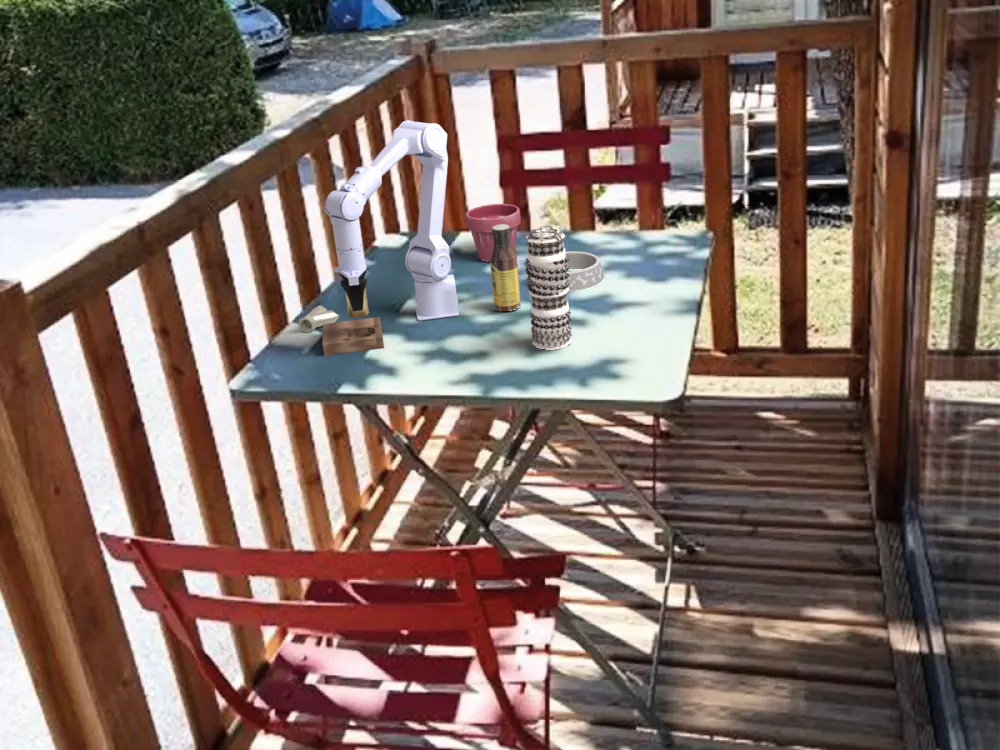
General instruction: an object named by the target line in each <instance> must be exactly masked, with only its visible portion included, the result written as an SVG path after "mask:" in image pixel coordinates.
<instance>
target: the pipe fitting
mask: <svg viewBox="0 0 1000 750" xmlns="http://www.w3.org/2000/svg"><path fill="white" fill-rule="evenodd" d="M339 318H340V317H339V314H337V313H336V312H334V310H333V309H331V310H328V309H327V308H326V307H324V306H322V304H321V305H317V306H315V307H314V308H312V309H311V311H310V312H308V314H307V315H305V316H303V317H302V318H300V319H299V320H298V325H299V329H300V330H301V331H303V332H304V333H311V332H312V331H314V330H315V329H318V328H321V326H323V324H328V323H335V322H337V321H338V319H339ZM317 327H318V328H317Z"/></svg>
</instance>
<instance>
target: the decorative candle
mask: <svg viewBox="0 0 1000 750" xmlns="http://www.w3.org/2000/svg"><path fill="white" fill-rule="evenodd" d="M564 238H566V234H564V233H563V232H561V231H560V229H559V228H557V227H555V226H539V227H536V228H533V229H532V230H531V231H530V233H529V234H528V235H527V236H526V237H525V240H526V241H527V254H526V255H527V257H526V258H525V262H524V265H525V267H526V268H525V272H526V275H527V278H526V281H527V290H528V294H529V295H530V296H531V304H530V305H531V306H530V307H531V313H530V314H529V315H530V316H529V317H530V318H531V320H530V324H531V329H530V331H531V339H532V345H533V344H534V345H535V346H536V347H538V348H541V349H546V350H545V351H548V350H550V351H556V350H555V349H559V348H561V347H565V346H567V345H569V344H570V343H571V342H572V343H573V339H572V336H573V334H572V331H571V330H572V325H571V321H572V319H571V316H570V315H571V310H570V308H569V301H568V294H567V292H568V291H569V287H568V286H569V283H568V282H566V281H565V280H566V279H567V278H568V277H569V274H568V273H566V272H567V271H568V270H569V267H568V266H566V265H565V264H564V263H566V262H568V261H569V258H568V257H567V256H565V253H566V252H567V251H566V248H565V243H564V241H565V240H564ZM572 343H571V344H572ZM559 350H560V349H559Z"/></svg>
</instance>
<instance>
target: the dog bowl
mask: <svg viewBox="0 0 1000 750" xmlns="http://www.w3.org/2000/svg"><path fill="white" fill-rule="evenodd" d="M565 252H566V253H565V256H567V257H568V258H569V261H568V262H566V263H564V264H565V265H566V266H568V267H569V269H582V270H578V271H571V272H566V273H568V274H569V277H568V278H567V279H566V280H565V281H566V282H568V283H569V286H568V287H569V291H576V290H583V289H586V288H590V287H592V286H595V285H597V284H598V283H600V282H601V281H602V280H603V278H604V275H605V273H604V269H603V266H602V262H601V259H600V258H599V257H598V256H597V254H593V253H590V252H585V251H577V250H576V251H572V250H571V251H565Z"/></svg>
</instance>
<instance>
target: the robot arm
mask: <svg viewBox="0 0 1000 750" xmlns="http://www.w3.org/2000/svg"><path fill="white" fill-rule="evenodd" d="M392 136H393V137H392V138H391V139H390V140H389V142H387V144H386V145H385V146H384V147H383V149H382V150H381V151H380V152H379V153H378V155H376V157H375V158H374V159H373V161H372V162H371V163H370V164H369V165H362V166H357V167H356V169H355V170H354V172H355V173H353V175H352V176H351V177H350V178H348V180H347V181H346V182H345V183H342V185H341V186H340V188H339V189H337V190H332V191H331V192H330V193H329V194H328V196H327V197H326V198H325V202H324V203H325V205H323V209H324V212H325V214H326V215H327V216H328V217H329V219H330V224H331V225H332V231H333V238H334V245H335V251H336V252H335V253H336V257H337V258H336V259H337V264H338V266H334V267H333V273H334V274H335V273H339V276H340V277H341V279H340V286H341V288H342V289H343V290H344V292H346V293H345V295H346V294H347V296H348V298H349V301H350V304H351V307H352V309H353V311H361V310H363V303H364V290H365V288H366V287H367V284H368V279H367V278H365V277H366V273H367V264H366V261H365V253H364V245H363V244H364V243H363V237H362V230H361V224H360V217H362V214H363V211H364V208H365V207H364V206H365V205H366V203H367V201H368V200H369V199H370V198H371V197H372V195H374V194H375V193H376V191H377V190H378V189H380V187H381V186H382V184H383V180H382V178H383V176H385V175H386V173H387V172H388V171H390V170H391V169H392V168H393V167H394V166H395V165H396V164H398V163H399V162H400V161H401V160H402V159H403V158H404V157H405V156H406V155H407V156H408V155H414V157H415V158H417V160H418V162H420V163H421V164H422V173H421V174H422V175H421V184H420V185H421V186H420V197H419V199H420V200H419V211H418V222H417V234H416V235H415V236H413V238H411V239H410V241H409V247H408V250H407V252H406V255H405V259H404V263H405V268H406V269H407V270H408V271H409V272H410V273H411V277H412V278H413V279H414V280H413V281H414V282H413V283H414V289H415V290H414V291H415V297H416V306H417V307H415V314H416V319H417V321H427V320H434V319H443V318H450V317H457V316H459V315H460V313H459V299H458V297H457V288H456V287H457V286H456V280H455V276H454V274H449V273H450V271H451V268H452V259H451V256H450V246H449V245H448V243H447V241H445V239H444V237H443V236H442V234H443V224H444V222H443V221H444V210H445V202H446V201H445V200H446V189H447V187H446V185H447V177H448V164H449V163H448V162H449V155H448V151H447V150H448V149H447V142H448V133H447V132H446V131H445V130H444V129H443V127H442V126H441V125H440V124H438V123H434V122H431V123H430V122H429V123H427V122H420V121H413V120H409V119H408V120H404V121H402V122H401V123H400V124H399V125H398V127H397V128H396V129H394V130H393V134H392Z"/></svg>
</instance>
